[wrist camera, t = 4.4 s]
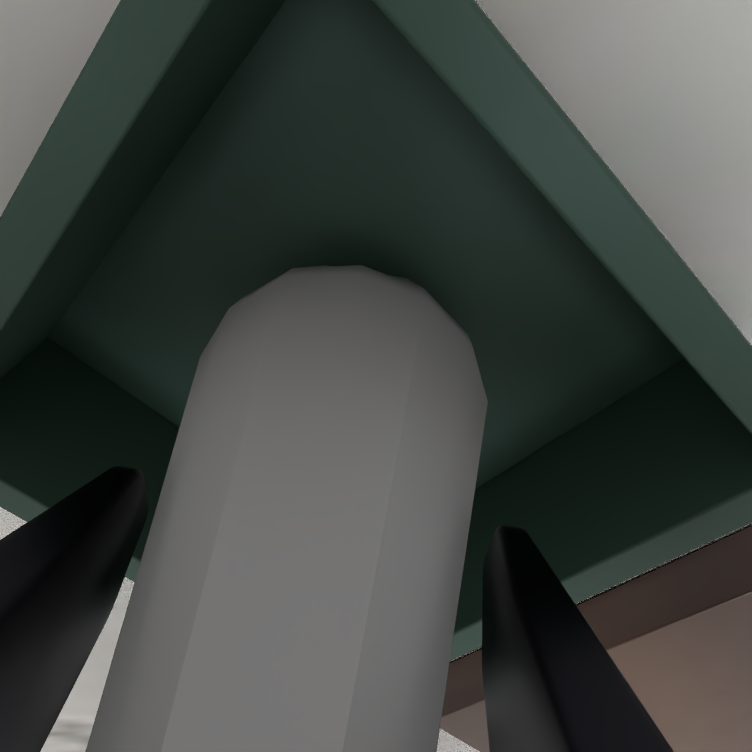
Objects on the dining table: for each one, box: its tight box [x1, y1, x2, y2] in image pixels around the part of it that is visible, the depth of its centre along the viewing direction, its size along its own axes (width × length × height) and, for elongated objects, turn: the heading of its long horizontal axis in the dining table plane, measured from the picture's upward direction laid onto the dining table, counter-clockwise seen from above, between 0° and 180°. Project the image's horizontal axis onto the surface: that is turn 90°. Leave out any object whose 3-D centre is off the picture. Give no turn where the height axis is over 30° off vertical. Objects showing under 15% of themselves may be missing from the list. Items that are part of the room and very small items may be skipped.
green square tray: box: [0, 0, 752, 660], centre depth 12 cm, size 13×13×4 cm
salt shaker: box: [86, 265, 488, 752], centre depth 8 cm, size 6×6×13 cm
